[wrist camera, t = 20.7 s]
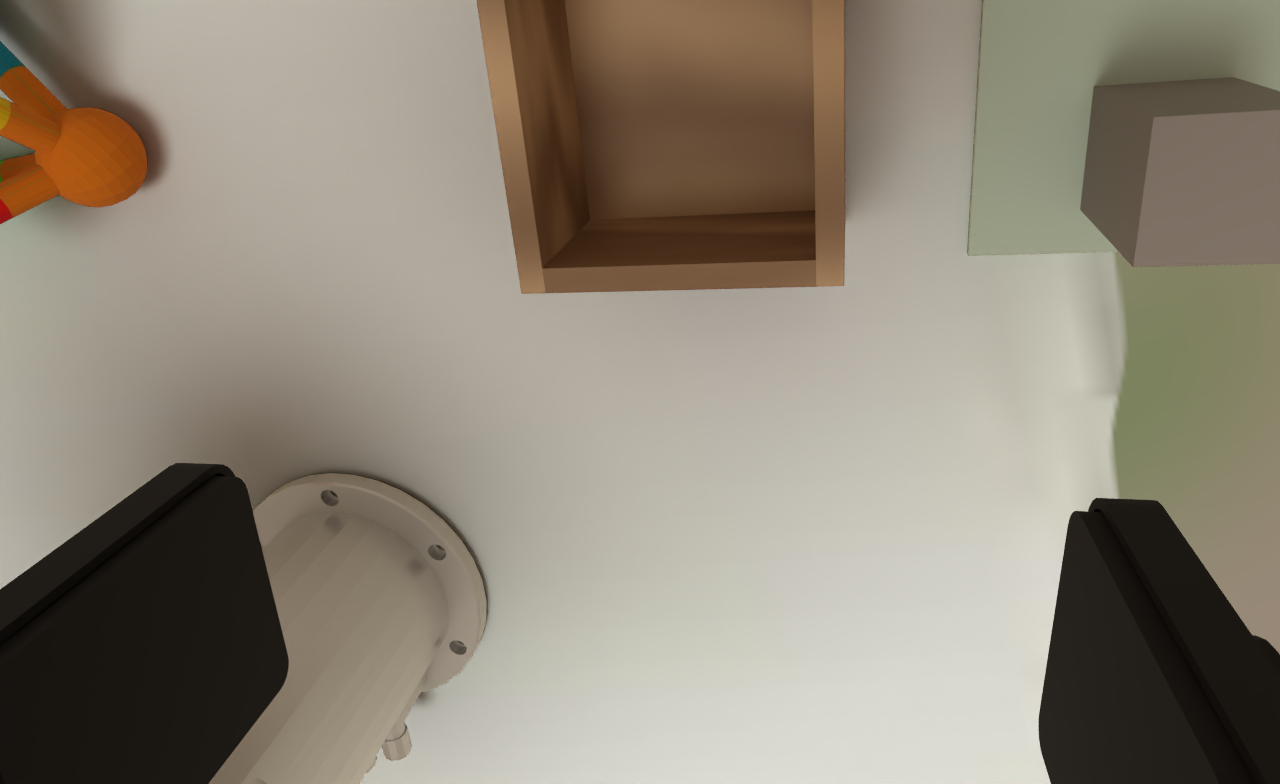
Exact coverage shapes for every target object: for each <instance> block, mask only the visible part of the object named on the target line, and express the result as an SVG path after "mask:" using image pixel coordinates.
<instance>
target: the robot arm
mask: <svg viewBox="0 0 1280 784" xmlns="http://www.w3.org/2000/svg"><path fill="white" fill-rule="evenodd" d="M486 607H487V601H486V596H485V591H484V586H483V581H482V578H481V576H480V573H479V571H478V569H477V566H476V564H475V561H474V559H473V558H472V556H471V555H470V553H469V551H468V550H467V548H466V547H465V545H464V544H463V542H462V540H461V539H460V538H459V537H458V536H457V535H456V533H455V532H454V531H453V530H452V529H451V528H450V527H449V526H448V525H447V523H446V522H445V521H444V520H443V519H441V518H440V517H439V516H438V515H437V514H435V513H434V512H433V511H432V510H431V509H429V508H428V507H427V506H426V505H424V504H423V503H421V502H420V501H418V500H416V499H415V498H413V497H411V496H410V495H408V494H406V493H405V492H403V491H401V490H399V489H397V488H394V487H392V486H389V485H387V484H385V483H382V482H380V481H377V480H373V479H369V478H365V477H361V476H357V475H351V474H336V473H326V474H318V475H309V476H305V477H302V478H300V479H297V480H294V481H291V482H288V483H286V484H285V485H283V486H282V487H280V488H279V489H277V490H276V491H274V492H272V493H271V494H270V495H269V496H268V497H267V498H266V499H265V500H264V501H263V502H262V503H261V504H260V505H259V506H257V507H256V508H255V510H254V511H252V507H251V503H250V499H249V495H248V491H247V488H246V485H245V483H244V482H243V481H242V480H241V479H240V478H238V477H235V475H234V473H233V472H232V471H231V470H230V468H228V467H227V466H225V465H220V464H194V463H176V464H174V465H172V466H169V467H168V468H167V469H165V470H164V471H162V472H161V473H160V474H158V475H157V476H156V477H154V478H153V479H151V480H150V481H149V482H147V483H146V484H145V485H143V486H142V487H140V488H139V489H138V490H136V491H135V492H134V493H132V494H131V495H129V496H128V497H127V498H125V499H124V500H123V501H121V502H120V503H119V504H117V505H116V506H114V507H113V508H112V509H110V510H109V511H108V512H106V513H105V514H103V515H102V516H101V517H99V518H98V519H97V520H95V521H94V522H92V523H91V524H90V525H88V526H87V527H86V528H84V529H83V530H81V531H80V532H79V533H77V534H76V535H75V536H73V537H72V538H70V539H69V540H68V541H66V542H65V543H64V544H62V545H61V546H59V547H58V548H57V549H55V550H54V551H53V552H51V553H50V554H48V555H47V556H46V557H44V558H43V559H42V560H40V561H39V562H37V563H36V564H35V565H33V566H32V567H31V568H29V569H28V570H27V571H25V572H24V573H22V574H21V575H20V576H18V577H17V578H16V579H14V580H13V581H11V582H10V583H9V584H7V585H6V586H5V587H3V588H2V589H0V784H359V783H360V782H361V780H362V778H363V777H364V775H365V773H367V772H369V771H370V770H371V769H372V768H373V766H374V765H375V763H376V760H377V756H376V755H377V753H378V751H379V750H380V748H381V746H382V748H383V752H384V755H385V757H386V758H387V759H389V760H392V761H393V760H400V759H402V758H404V757H406V756H407V755H408V754H409V753H410V751H411V748H412V744H411V740H410V736H409V732H408V729H407V726H406V724H405V723H404V720H405V718H406V717H407V715H408V713H409V712H410V710H411V708H412V706H413V705H414V703H415V701H416V700H417V698H418V696H419V694H420V693H421V692H425V691H429V690H432V689H434V688H436V687H438V686H440V685H443V684H445V683H447V682H448V681H449V680H451V679H452V678H453V677H454V676H456V675H457V674H458V673H460V672H461V671H462V669H463V668H464V667H465V665H466V664H467V663H468V661H469V660H470V659H471V657H472V656H473V654H474V652H475V650H476V648H477V646H478V644H479V642H480V640H481V638H482V634H483V631H484V627H485V623H486ZM1039 740H1040V747H1041V752H1042V756H1043V759H1044V762H1045V765H1046V769H1047V772H1048V775H1049V779H1050V782H1051V784H1280V655H1279V653H1278V652H1277V651H1276V650H1275V649H1274V648H1273V646H1272V645H1271V644H1270V643H1269V642H1268V641H1266V640H1265V639H1263V638H1260V637H1258V636H1253V635H1252V634H1251V633H1250V632H1249V630H1248V629H1247V627H1246V626H1245V624H1244V623H1243V622H1242V620H1241V619H1240V617H1239V616H1238V614H1237V613H1236V611H1235V610H1234V608H1233V607H1232V606H1231V604H1230V603H1229V601H1228V600H1227V598H1226V597H1225V595H1224V594H1223V593H1222V591H1221V590H1220V588H1219V587H1218V585H1217V584H1216V582H1215V581H1214V580H1213V578H1212V577H1211V575H1210V574H1209V572H1208V571H1207V570H1206V568H1205V567H1204V565H1203V564H1202V562H1201V561H1200V559H1199V558H1198V557H1197V555H1196V554H1195V552H1194V551H1193V549H1192V548H1191V547H1190V545H1189V544H1188V542H1187V541H1186V539H1185V538H1184V537H1183V535H1182V533H1181V532H1180V531H1179V529H1178V528H1177V526H1176V525H1175V523H1174V522H1173V521H1172V519H1171V518H1170V516H1169V515H1168V513H1167V512H1166V510H1165V509H1164V507H1163V506H1162V505H1161V504H1160V503H1159V502H1158V501H1153V500H1133V499H1107V498H1096V499H1094V500H1093V501H1092V503H1091V505H1090V507H1089V510H1088V512H1083V511H1074V512H1073V513H1072V515H1071V517H1070V519H1069V524H1068V529H1067V536H1066V543H1065V549H1064V556H1063V562H1062V569H1061V575H1060V582H1059V588H1058V595H1057V601H1056V608H1055V615H1054V621H1053V628H1052V634H1051V641H1050V647H1049V654H1048V660H1047V667H1046V674H1045V680H1044V687H1043V693H1042V700H1041V706H1040V713H1039Z"/></svg>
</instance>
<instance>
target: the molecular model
mask: <svg viewBox="0 0 1280 784" xmlns="http://www.w3.org/2000/svg"><path fill="white" fill-rule="evenodd" d="M0 89H1V90H2V91H3V92H4V93H5V94H6V95H7V96H8V97H9V98H10V99H11V100H12V101H13V102H14V103H15V104H14V103H12V102H10V101H8V100H6V99H3V98H1V97H0V135H1V136H3V137H5V138H8V139H10V140H12V141H15V142H17V143H19V144H22V145H24V146H26V147H29V148H31V149H33V150H35V153H33V154H29V155H25V156H20V157H16V158H11V159H7V160H2V161H0V224H2V223H4V222H5V221H7V220H9V219H11V218H13V217H15V216H17V215H19V214H21V213H23V212H25V211H27V210H29V209H31V208H33V207H35V206H37V205H39V204H41V203H43V202H45V201H47V200H49V199H51V198H53V197H55V196H57V195H60V196H62V197H64V198H66V199H67V200H69V201H71V202H74V203H77V204H80V205H84V206H88V207H104V206H110V205H113V204H116V203H118V202H121V201H123V200H126V199H127V198H129V197H130V196H132V195H133V194H134V193H136V191H137V190H138V189H139V188H140V186H141V185H142V183H143V181H144V179H145V177H146V172H147V157H146V150H145V147H144V145H143V143H142V140H141V139H140V137H139V136H138V134H137V133H136V132H135V131H134V129H133V128H132V127H131V126H130V125H129V124H128V123H126V122H125V121H124V120H122V119H121V118H119V117H118V116H117V115H114V114H112V113H110V112H107V111H104V110H102V109H97V108H89V107H83V108H72V109H67V108H66V107H65V106H64V105H63V104H62V103H61V102H60V101H59V100H58V99H57V98H56V97H55V96H54V95H53V94H52V93H51V92H50V91H49V90H48V89H47V88H46V87H45V86H44V85H43V84H42V83H41V82H40V81H39V80H38V79H37V78H36V77H35V76H34V75H33V74H32V73H31V72H30V71H29V70H28V69H27V68H26V67H25V66H24V65H23V64H22V63H21V62H20V61H19V60H18V59H17V58H16V57H15V56H14V55H13V54H12V53H11V52H10V51H9V50H8V49H7V48H6V47H5V45H4V44H3V43H2V42H1V41H0Z"/></svg>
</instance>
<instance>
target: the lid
mask: <svg viewBox="0 0 1280 784" xmlns="http://www.w3.org/2000/svg"><path fill="white" fill-rule="evenodd" d="M1087 252H1120V253H1121V254H1122V256H1123V257H1124V258H1125V259H1126V260H1127V261H1128V262H1129V263H1130V264H1131V265H1132V266H1133V267H1156V266H1197V265H1237V264H1278V263H1279V264H1280V0H982V13H981V29H980V46H979V63H978V79H977V96H976V113H975V129H974V146H973V163H972V180H971V196H970V213H969V230H968V246H967V254H968V256H977V255H1014V254H1050V253H1087Z"/></svg>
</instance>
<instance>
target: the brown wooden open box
mask: <svg viewBox="0 0 1280 784" xmlns="http://www.w3.org/2000/svg"><path fill="white" fill-rule="evenodd" d="M477 6H478V13H479V19H480V26H481V32H482V39H483V45H484V52H485V58H486V65H487V71H488V78H489V84H490V91H491V97H492V104H493V111H494V117H495V124H496V130H497V137H498V143H499V150H500V156H501V163H502V169H503V176H504V182H505V189H506V195H507V202H508V208H509V215H510V221H511V228H512V234H513V241H514V247H515V254H516V260H517V267H518V273H519V280H520V286H521V293H522V294H529V293H570V292H611V291H652V290H694V289H735V288H776V287H817V286H844V258H845V0H477Z"/></svg>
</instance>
